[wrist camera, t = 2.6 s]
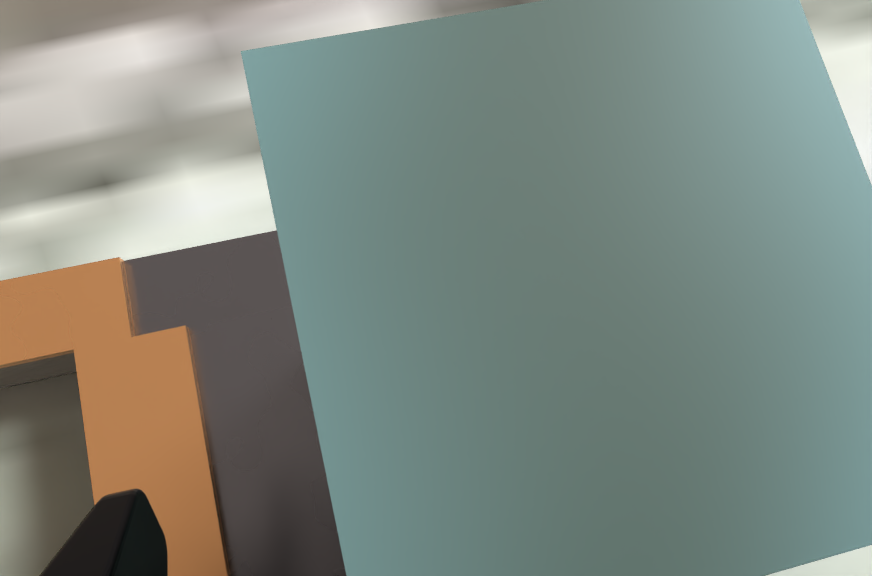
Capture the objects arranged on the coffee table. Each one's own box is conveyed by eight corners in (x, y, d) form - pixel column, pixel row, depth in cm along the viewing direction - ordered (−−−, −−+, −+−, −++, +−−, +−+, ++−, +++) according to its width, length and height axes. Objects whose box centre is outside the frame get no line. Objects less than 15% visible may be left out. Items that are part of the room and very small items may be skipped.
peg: (497, 310, 18) (784, -39, 5) (540, 470, 17) (997, 508, 4) (340, 345, 17) (241, 51, 5) (375, 512, 17) (369, 688, 4)
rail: (688, 173, 19) (729, 135, 17) (803, 513, 17) (865, 521, 15) (-397, 395, 16) (-525, 385, 14) (-400, 848, 14) (-548, 922, 12)
